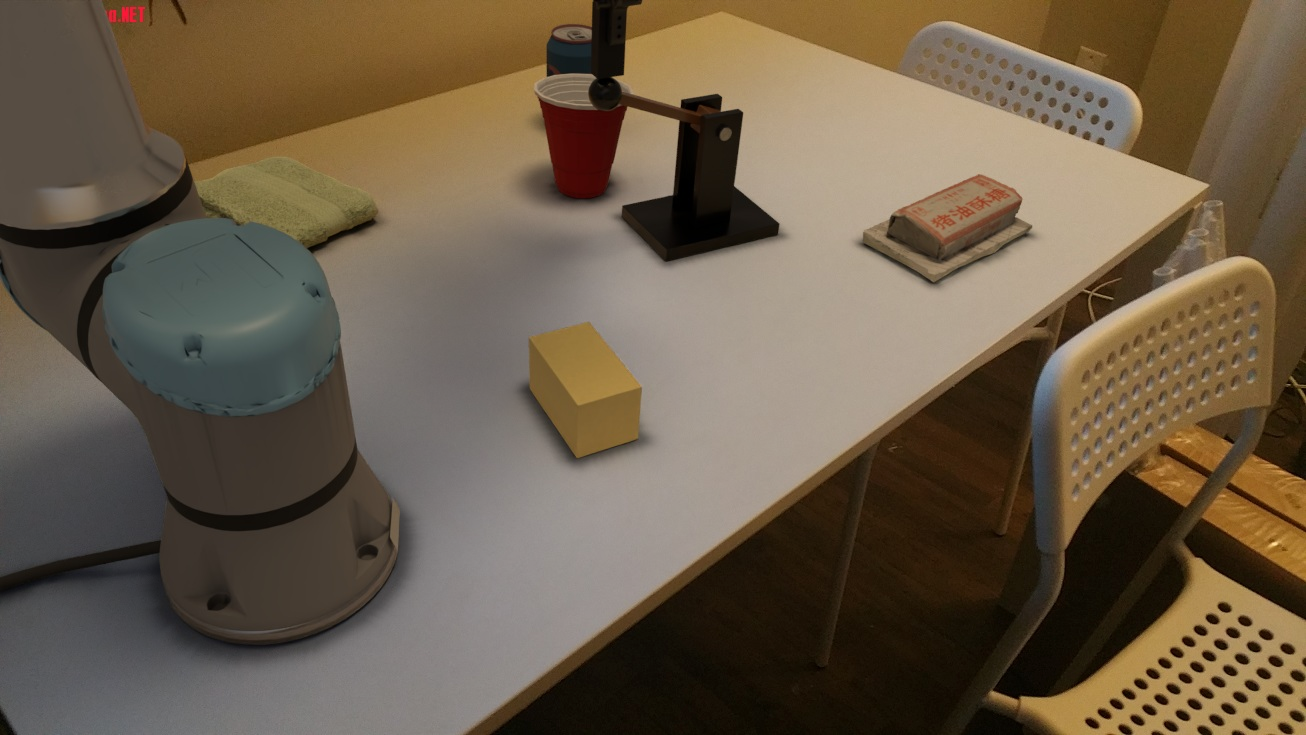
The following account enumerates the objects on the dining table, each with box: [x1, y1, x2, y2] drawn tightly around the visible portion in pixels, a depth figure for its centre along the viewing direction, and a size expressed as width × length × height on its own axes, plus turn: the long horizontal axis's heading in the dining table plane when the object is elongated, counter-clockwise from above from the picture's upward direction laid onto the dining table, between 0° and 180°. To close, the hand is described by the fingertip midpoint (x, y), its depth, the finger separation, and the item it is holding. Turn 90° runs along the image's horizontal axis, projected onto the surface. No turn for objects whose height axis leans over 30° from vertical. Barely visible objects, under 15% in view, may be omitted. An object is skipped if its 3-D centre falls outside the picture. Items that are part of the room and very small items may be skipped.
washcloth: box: [194, 155, 379, 249], centre depth 103 cm, size 13×18×3 cm
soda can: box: [546, 23, 592, 77], centre depth 122 cm, size 7×7×12 cm
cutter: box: [621, 93, 781, 262], centre depth 103 cm, size 14×10×14 cm
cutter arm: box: [588, 77, 722, 133], centre depth 96 cm, size 16×3×3 cm, turn 118°
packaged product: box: [862, 174, 1033, 283], centre depth 107 cm, size 18×5×10 cm
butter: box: [528, 321, 643, 459], centre depth 80 cm, size 6×10×6 cm, turn 29°
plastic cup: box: [533, 74, 635, 199], centre depth 109 cm, size 11×11×12 cm
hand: (607, 74), depth 91 cm, fingers closed
